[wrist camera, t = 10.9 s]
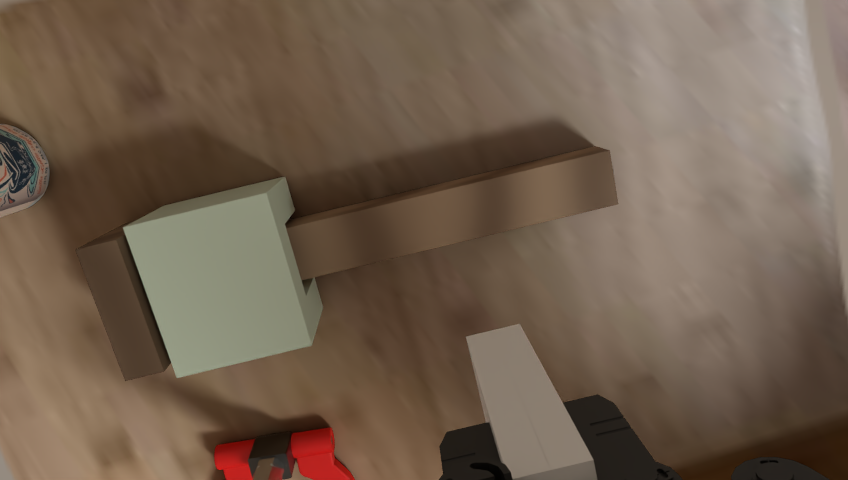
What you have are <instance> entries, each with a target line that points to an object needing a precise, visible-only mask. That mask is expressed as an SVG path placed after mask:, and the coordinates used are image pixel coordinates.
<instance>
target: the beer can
mask: <svg viewBox="0 0 848 480" xmlns="http://www.w3.org/2000/svg"><path fill="white" fill-rule="evenodd" d="M49 176H50V170H49V164H48V160H47V158H46V155H45V153H44V151H43V149H42V148H41V146H40V145H39V144H38V142H37V141H36V140H35V139H34V138H33V137H31V136H30V135H29V134H28V133H26V132H24V131H22V130H20V129H18V128H16V127H14V126H11V125H7V124H0V217H3V216H6V215H9V214H12V213H15V212H18V211H21V210H24V209H27V208H29V207H30V206H32V205H34V204H35V203H36V202H37V201H38V200H40V198H41V197H42V196H43V194H44V193H45V191H46V189H47V187H48V183H49Z"/></svg>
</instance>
